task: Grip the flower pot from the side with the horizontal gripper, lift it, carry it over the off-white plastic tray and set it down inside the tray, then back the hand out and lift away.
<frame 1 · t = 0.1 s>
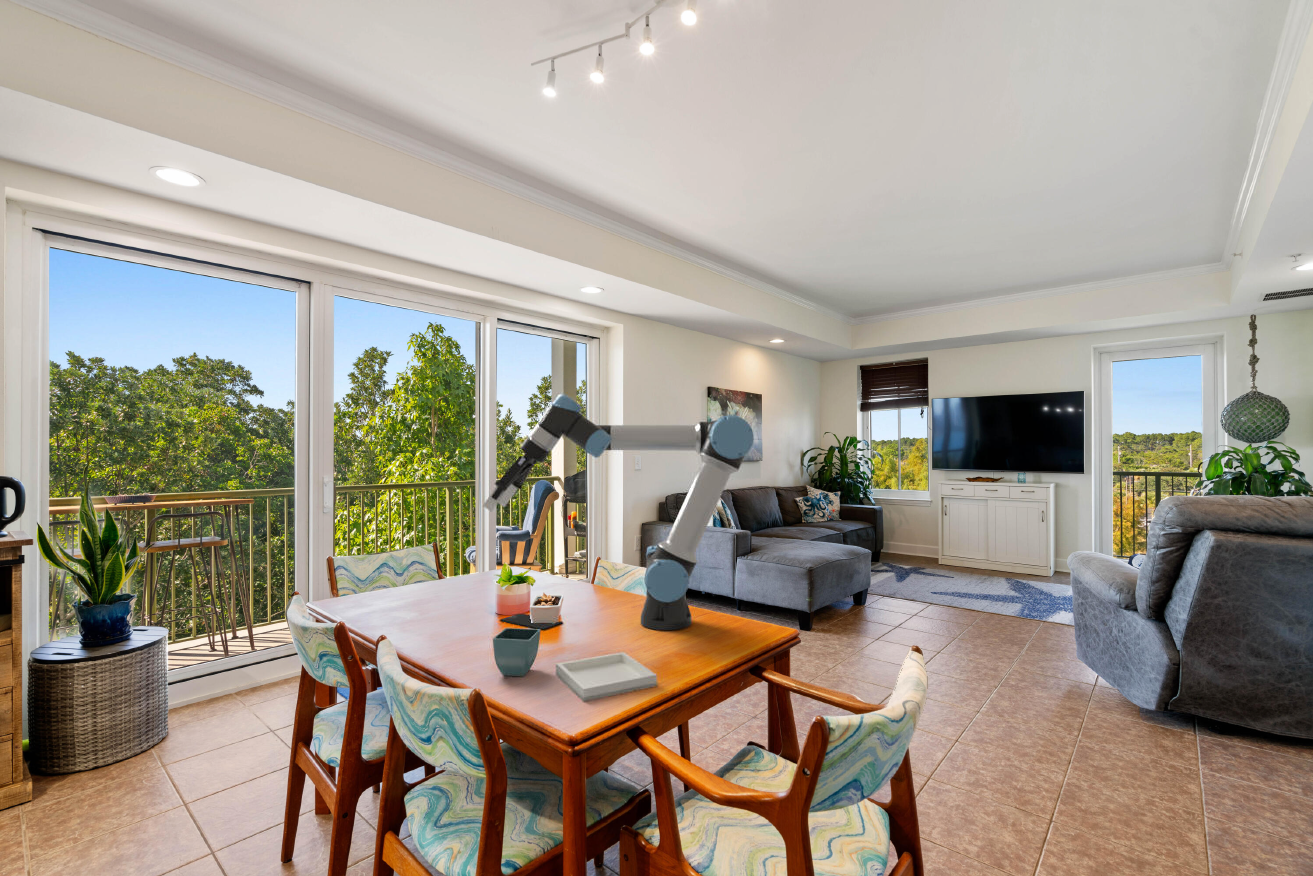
hand: (494, 506, 169), 36 cm above the table, tool tilted 35°, fingers open, 13 cm apart
flower pot: (517, 673, 140), on the table
tray: (605, 680, 136), on the table
cell phone: (531, 624, 182), on the table
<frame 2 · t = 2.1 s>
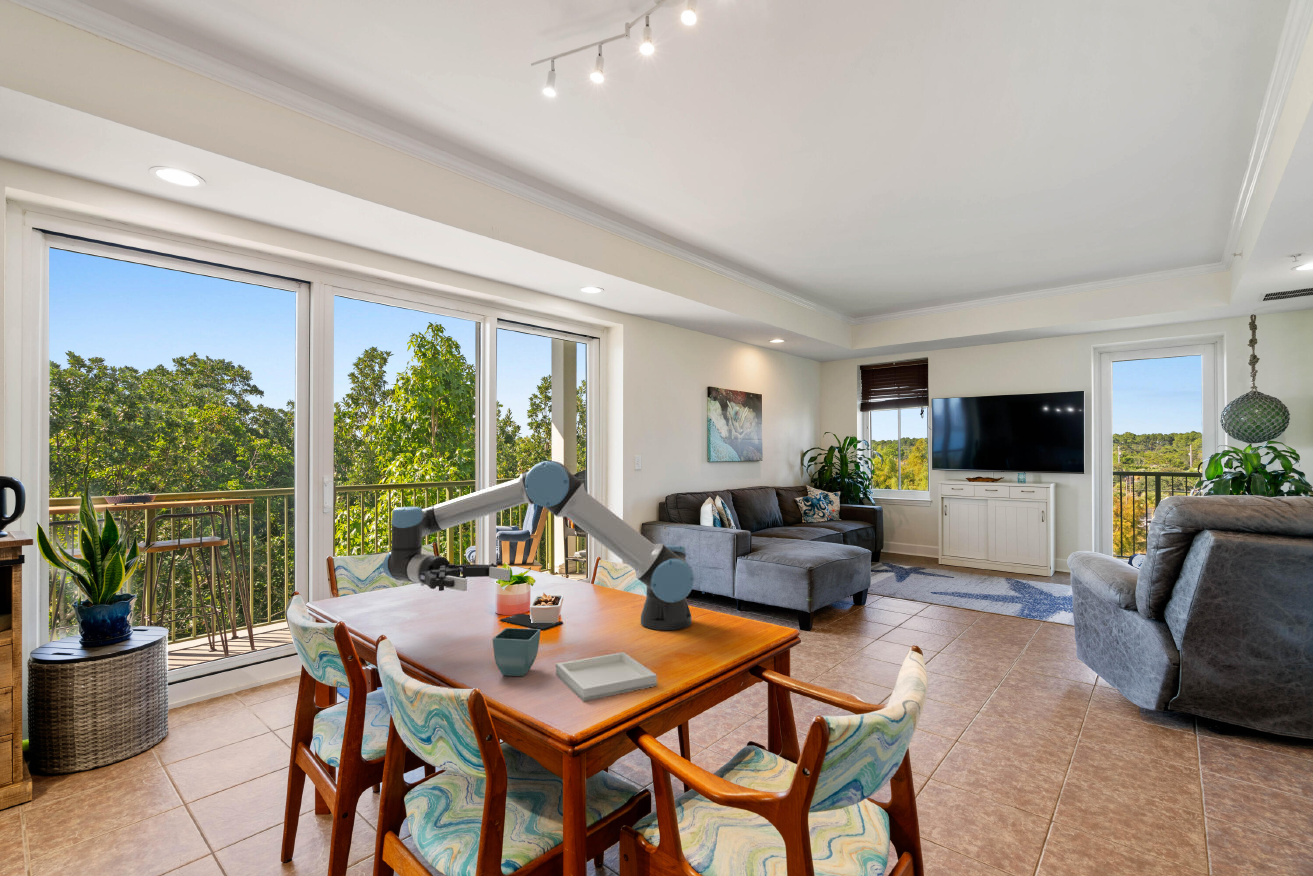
hand: (488, 579, 146), 20 cm above the table, tool horizontal, fingers open, 13 cm apart
nothing on the table moved.
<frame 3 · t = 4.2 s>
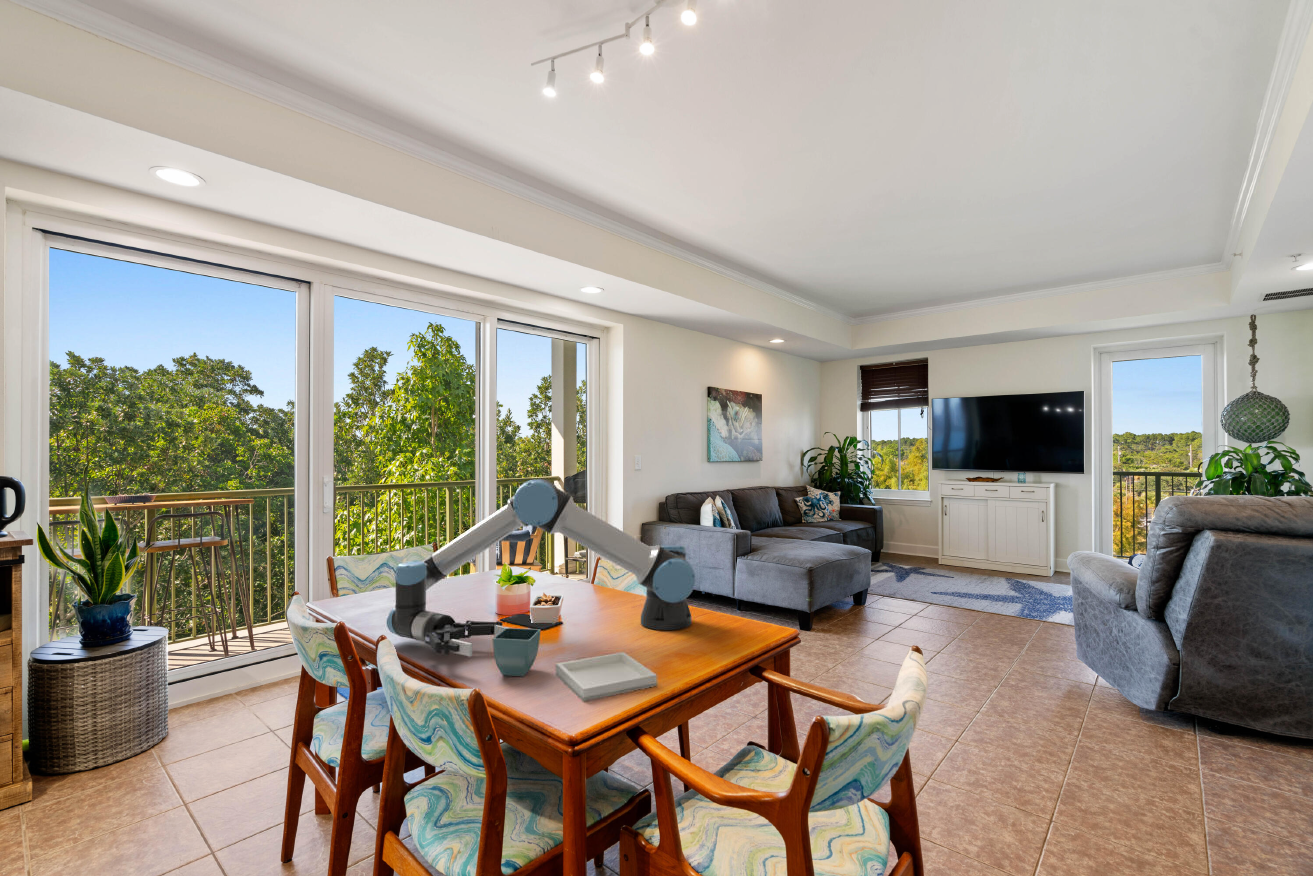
hand: (493, 642, 144), 6 cm above the table, tool horizontal, fingers open, 13 cm apart
nothing on the table moved.
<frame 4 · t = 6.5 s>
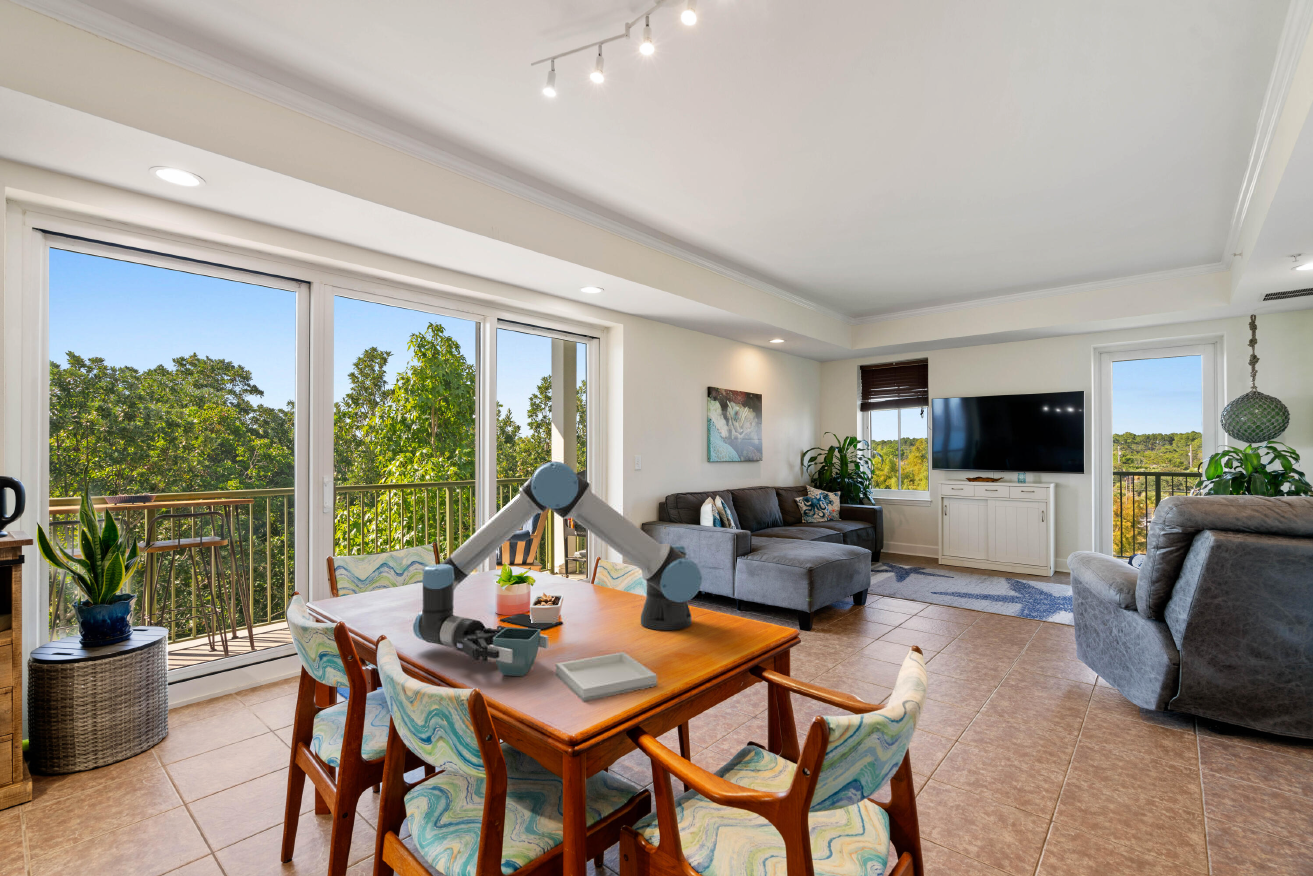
hand: (529, 649, 139), 6 cm above the table, tool horizontal, fingers closed on flower pot, 11 cm apart
flower pot: (517, 673, 140), on the table, touching gripper
everything else where it was.
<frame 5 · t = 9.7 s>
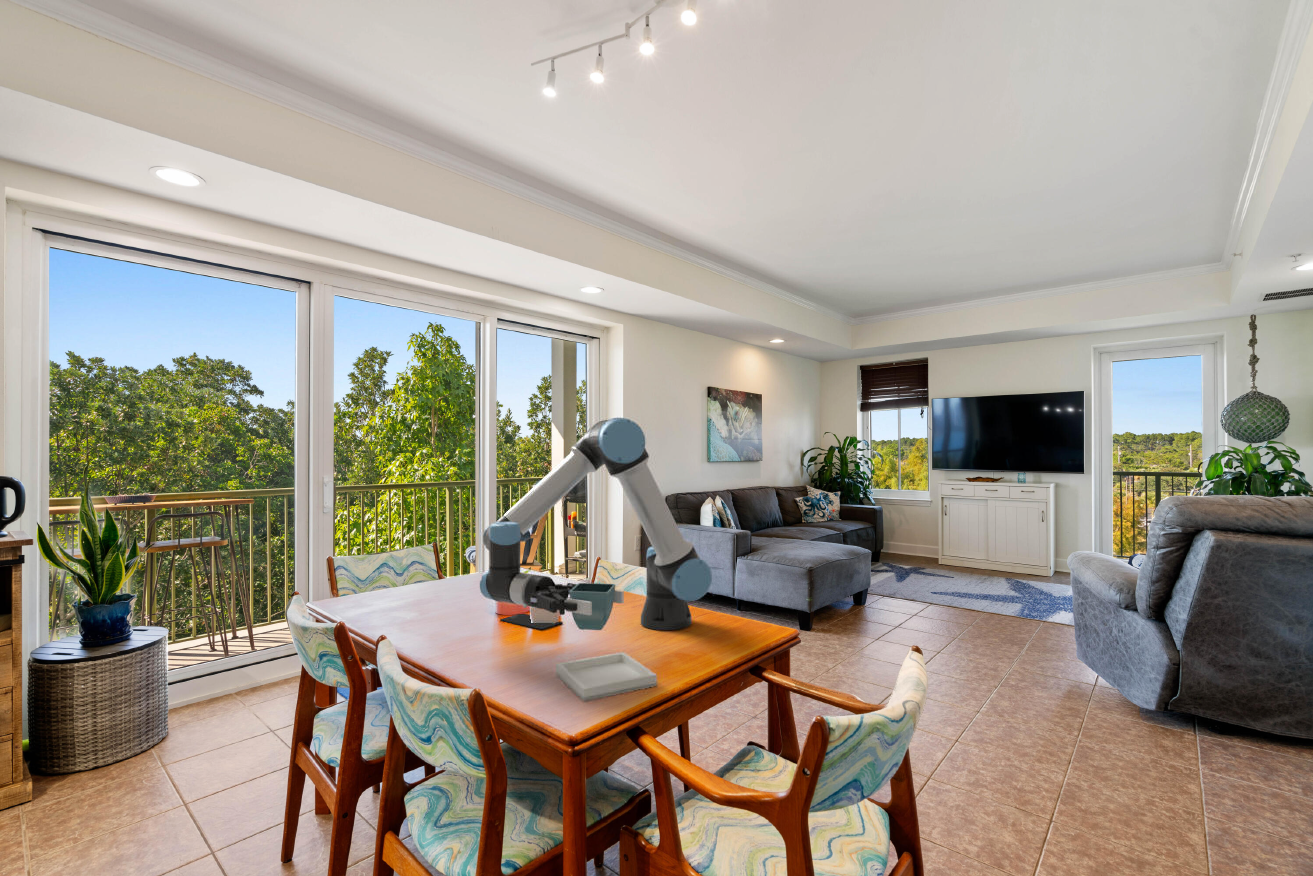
hand: (607, 602, 134), 18 cm above the table, tool horizontal, fingers closed on flower pot, 11 cm apart
flower pot: (593, 628, 136), point 11 cm above the table, touching gripper
everything else where it was.
when the fingers open (8 cm above the table, at t = 12.8 s): flower pot drops 2 cm, resting on tray.
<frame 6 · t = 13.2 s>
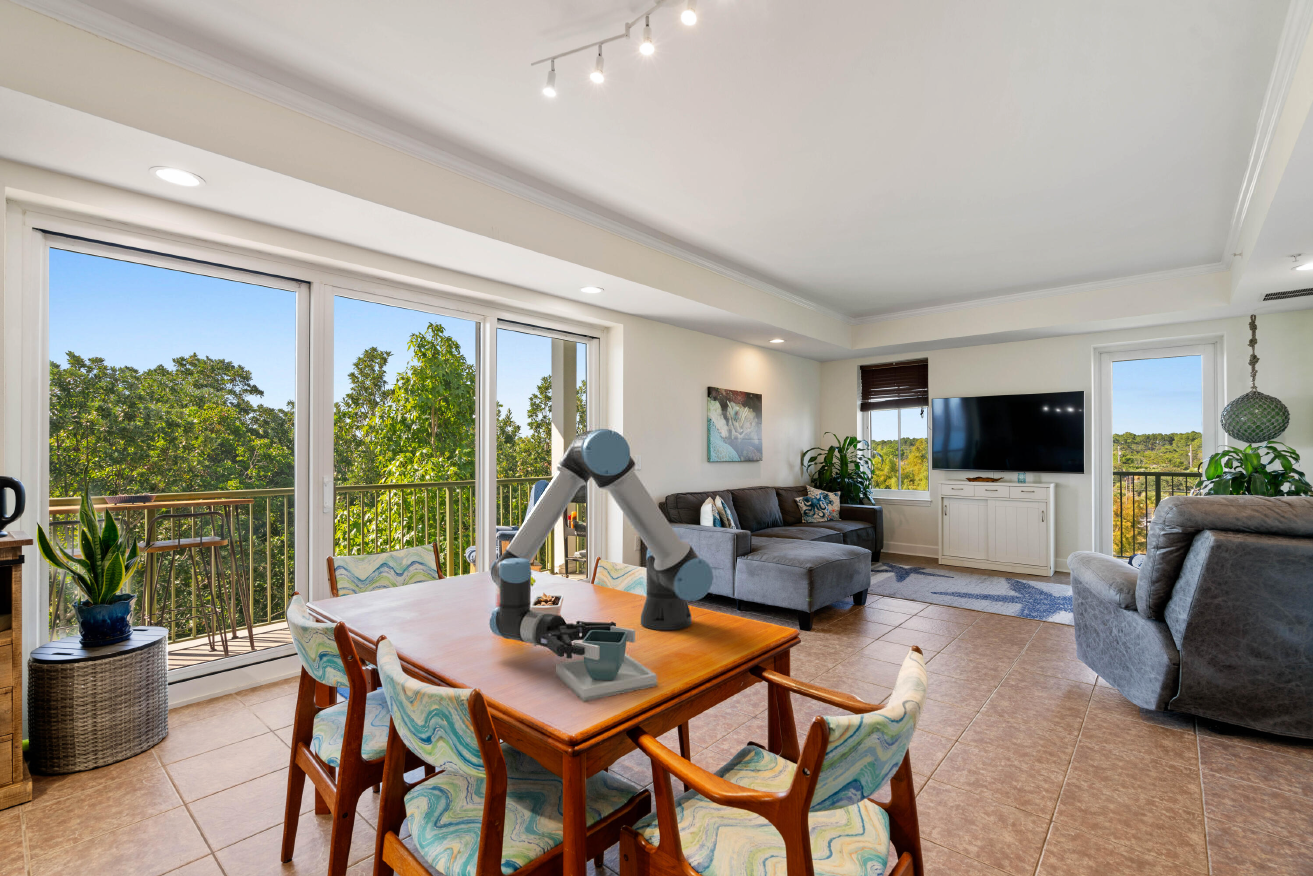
hand: (617, 644, 134), 8 cm above the table, tool horizontal, fingers open, 13 cm apart
flower pot: (605, 677, 136), point 1 cm above the table, touching tray
everything else where it was.
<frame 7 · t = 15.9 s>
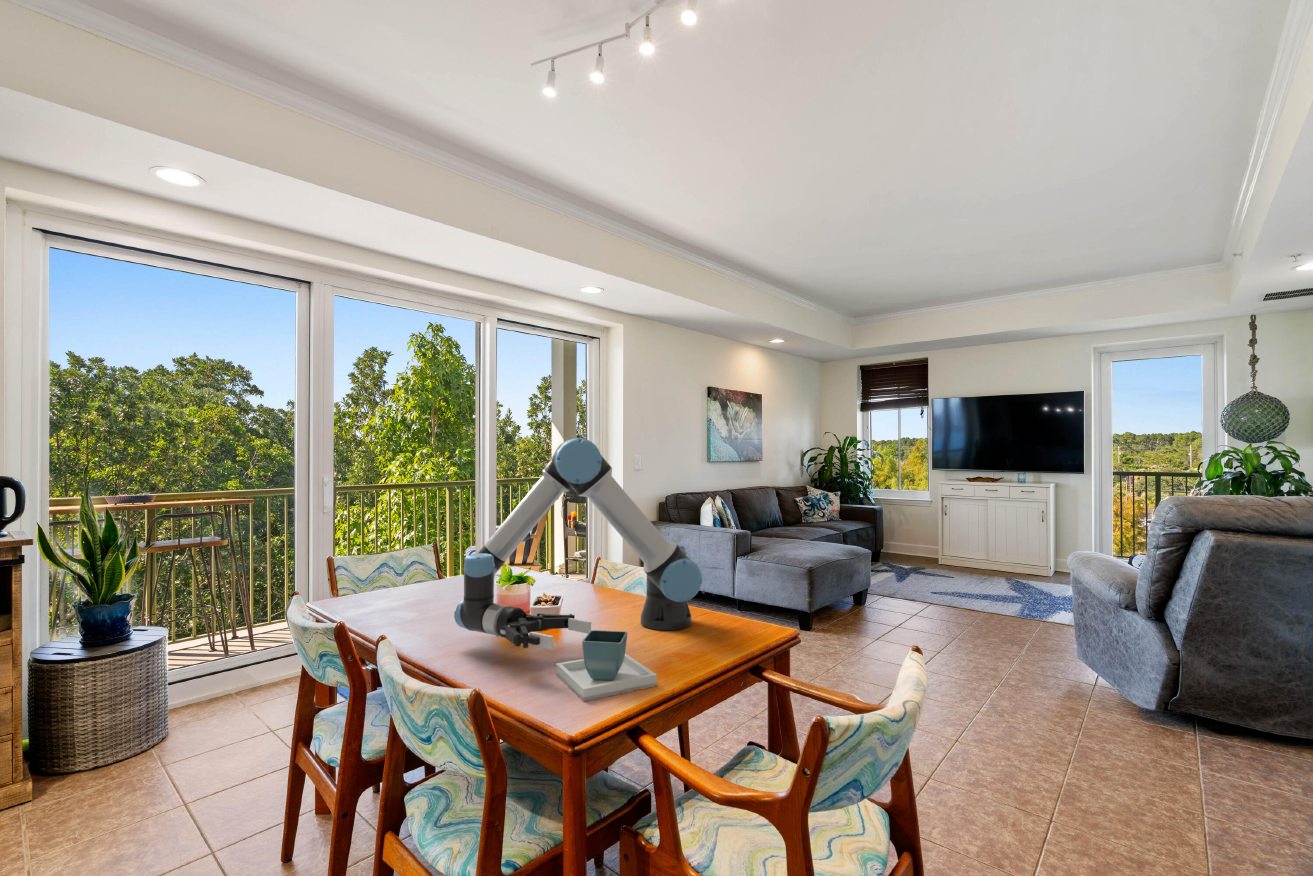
hand: (572, 635, 141), 9 cm above the table, tool horizontal, fingers open, 13 cm apart
nothing on the table moved.
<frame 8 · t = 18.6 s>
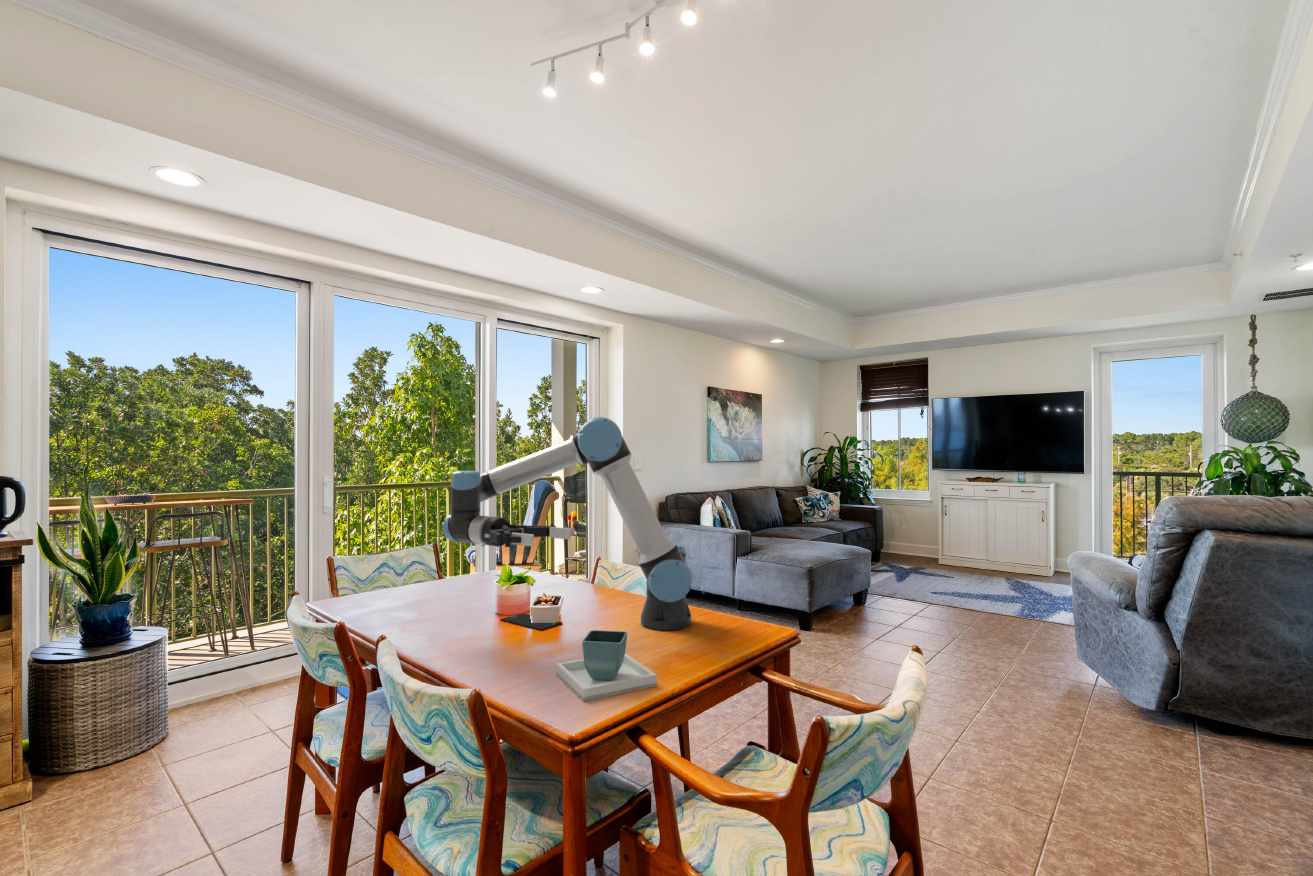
hand: (552, 537, 149), 30 cm above the table, tool horizontal, fingers open, 13 cm apart
nothing on the table moved.
at the end: flower pot inside the target area on the tray (0.1 cm from its centre), point 0.6 cm above the tray's base; flower pot tilted 0°; the gripper is holding nothing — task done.
